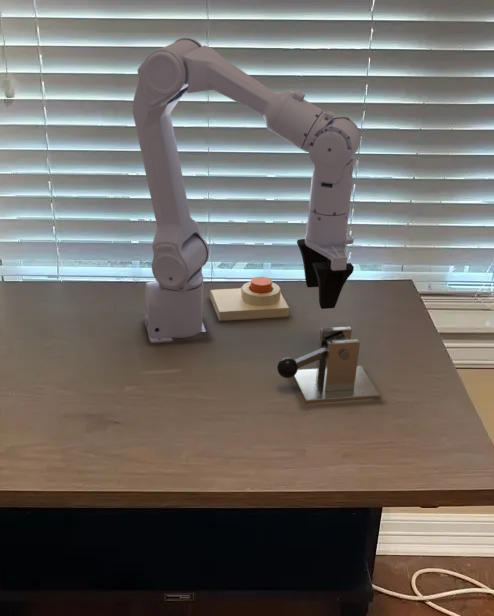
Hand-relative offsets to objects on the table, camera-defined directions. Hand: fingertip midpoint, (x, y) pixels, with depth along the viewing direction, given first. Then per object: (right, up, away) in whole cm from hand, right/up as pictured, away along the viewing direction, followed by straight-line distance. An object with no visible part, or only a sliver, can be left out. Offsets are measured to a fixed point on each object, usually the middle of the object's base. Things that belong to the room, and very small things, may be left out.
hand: (320, 296), depth 140 cm
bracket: (+2, -14, -2) cm, 14 cm away
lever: (-1, -11, -5) cm, 12 cm away
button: (-7, +5, +19) cm, 21 cm away
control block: (-9, +2, +20) cm, 22 cm away
